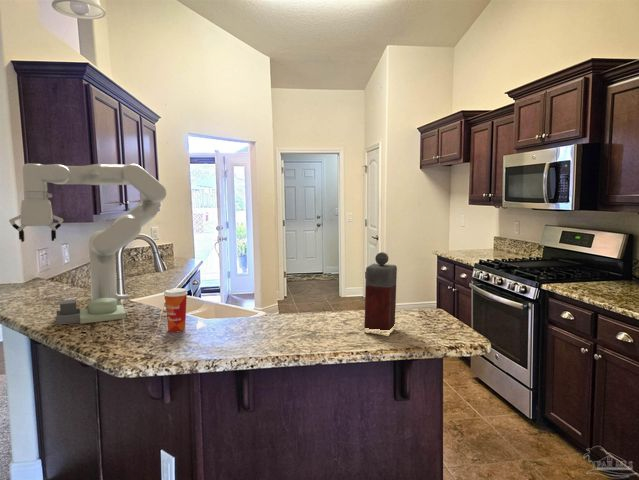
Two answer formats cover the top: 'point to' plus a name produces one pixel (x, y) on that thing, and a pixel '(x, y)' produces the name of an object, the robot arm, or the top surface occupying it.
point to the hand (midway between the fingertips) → (38, 241)
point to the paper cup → (176, 309)
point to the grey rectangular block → (68, 307)
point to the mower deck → (102, 317)
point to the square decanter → (380, 294)
